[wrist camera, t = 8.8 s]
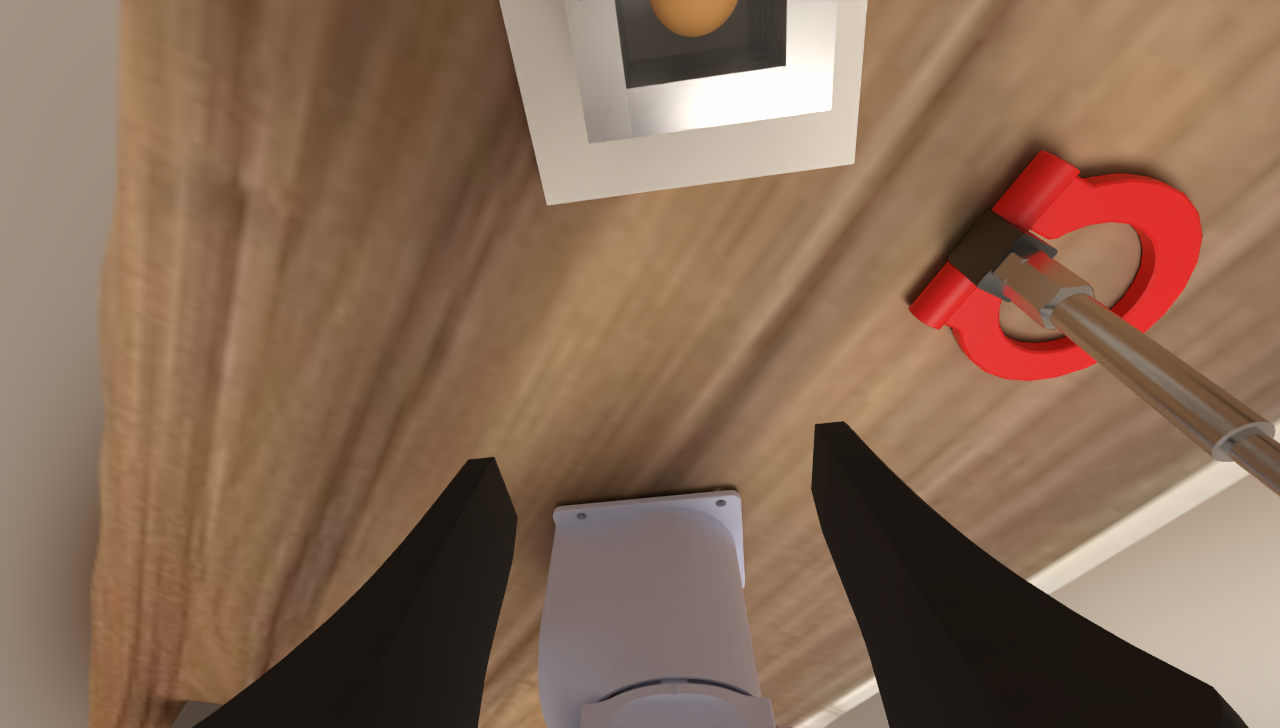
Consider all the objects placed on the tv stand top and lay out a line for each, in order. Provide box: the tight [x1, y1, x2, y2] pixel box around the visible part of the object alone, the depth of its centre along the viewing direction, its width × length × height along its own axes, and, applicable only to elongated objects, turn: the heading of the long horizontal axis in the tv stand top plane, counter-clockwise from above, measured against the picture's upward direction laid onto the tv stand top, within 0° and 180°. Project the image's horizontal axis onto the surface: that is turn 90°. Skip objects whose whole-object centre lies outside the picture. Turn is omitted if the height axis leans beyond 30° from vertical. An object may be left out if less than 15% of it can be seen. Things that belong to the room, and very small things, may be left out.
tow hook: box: [909, 151, 1280, 498], centre depth 16 cm, size 8×13×9 cm
